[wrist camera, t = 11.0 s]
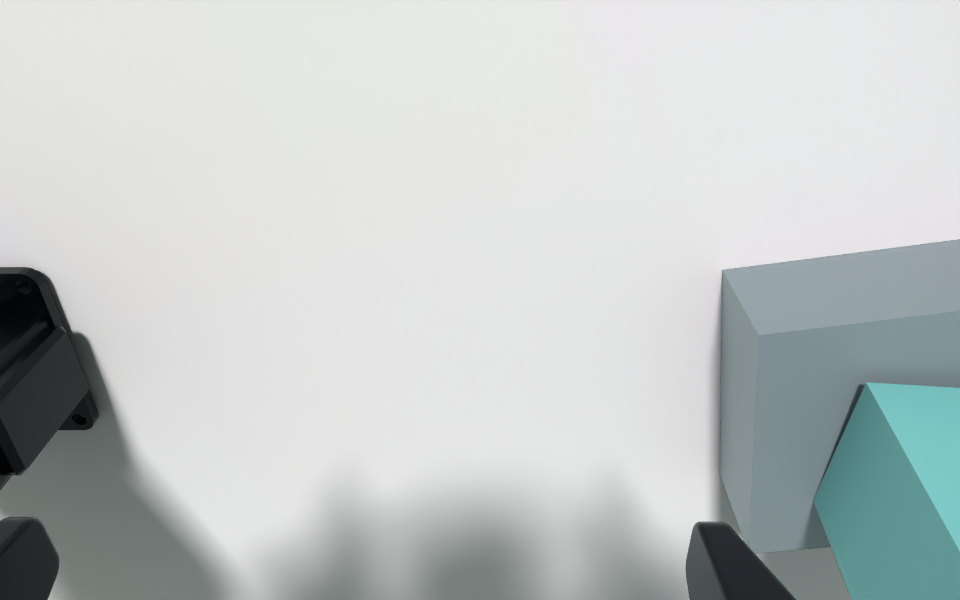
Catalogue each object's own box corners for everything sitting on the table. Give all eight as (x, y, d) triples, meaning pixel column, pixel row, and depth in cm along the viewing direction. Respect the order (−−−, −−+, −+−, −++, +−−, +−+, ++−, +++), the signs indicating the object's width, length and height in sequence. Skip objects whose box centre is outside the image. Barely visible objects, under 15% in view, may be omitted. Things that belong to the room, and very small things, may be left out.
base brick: (717, 467, 27) (748, 554, 24) (718, 264, 23) (758, 335, 19) (965, 442, 26) (1035, 528, 23) (1020, 224, 22) (1118, 291, 18)
